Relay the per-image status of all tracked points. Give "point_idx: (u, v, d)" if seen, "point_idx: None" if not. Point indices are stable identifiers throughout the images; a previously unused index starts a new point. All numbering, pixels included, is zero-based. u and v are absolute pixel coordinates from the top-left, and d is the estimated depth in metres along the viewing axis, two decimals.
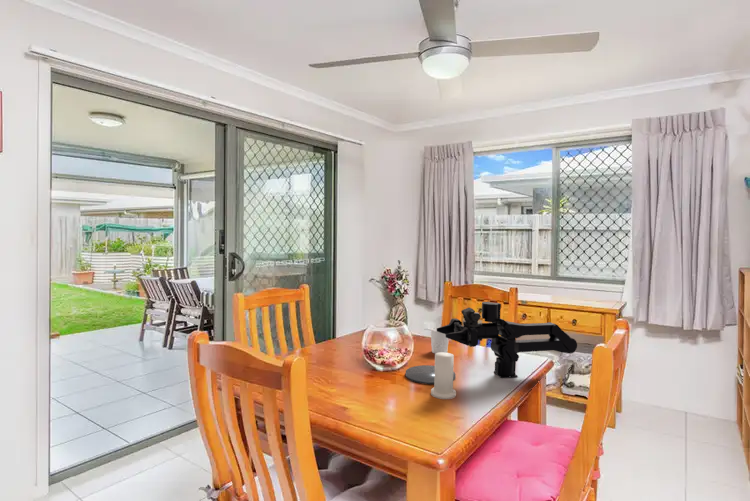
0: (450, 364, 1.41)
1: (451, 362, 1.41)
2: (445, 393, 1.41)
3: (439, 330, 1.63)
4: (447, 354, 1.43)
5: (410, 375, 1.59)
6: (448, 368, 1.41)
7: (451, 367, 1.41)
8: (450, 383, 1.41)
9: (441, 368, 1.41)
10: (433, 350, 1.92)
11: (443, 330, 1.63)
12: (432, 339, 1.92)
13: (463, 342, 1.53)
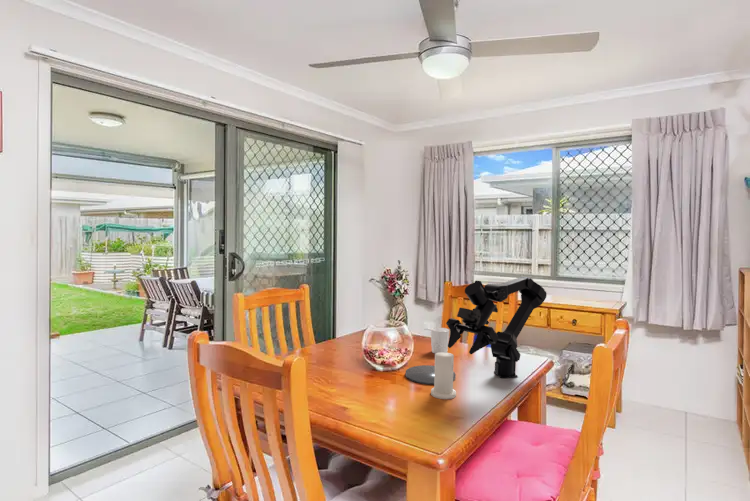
0: (450, 364, 1.41)
1: (451, 362, 1.41)
2: (445, 393, 1.41)
3: (450, 345, 1.52)
4: (447, 354, 1.43)
5: (410, 375, 1.59)
6: (448, 368, 1.41)
7: (451, 367, 1.41)
8: (450, 383, 1.41)
9: (441, 368, 1.41)
10: (433, 350, 1.92)
11: (453, 341, 1.52)
12: (432, 339, 1.92)
13: (485, 344, 1.46)
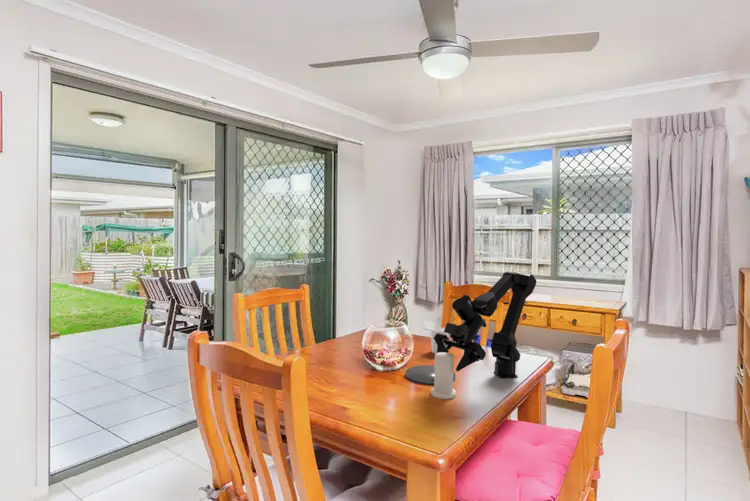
0: (450, 364, 1.41)
1: (451, 362, 1.41)
2: (445, 393, 1.41)
3: None
4: (447, 354, 1.43)
5: (410, 375, 1.59)
6: (448, 368, 1.41)
7: (451, 367, 1.41)
8: (450, 383, 1.41)
9: (441, 368, 1.41)
10: (433, 350, 1.92)
11: None
12: (432, 339, 1.92)
13: (473, 361, 1.42)
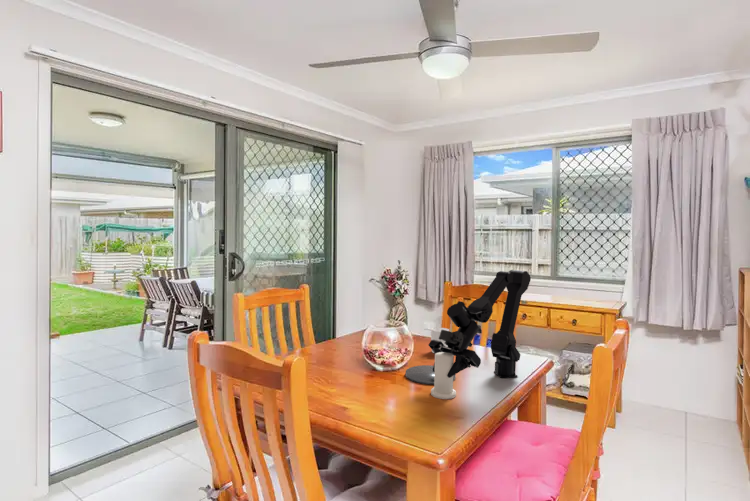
0: (450, 363, 1.41)
1: (451, 362, 1.41)
2: (445, 393, 1.41)
3: None
4: (447, 354, 1.43)
5: (410, 375, 1.59)
6: (448, 368, 1.41)
7: None
8: (450, 383, 1.41)
9: (441, 368, 1.41)
10: None
11: None
12: (432, 339, 1.92)
13: (464, 367, 1.42)
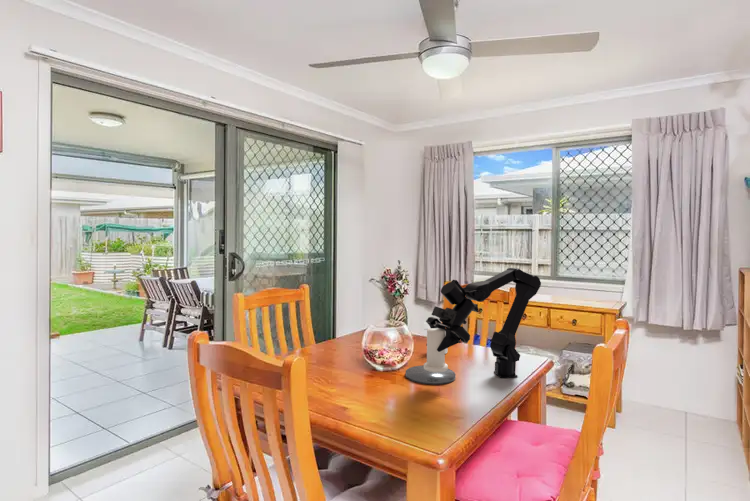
0: (440, 338, 1.47)
1: (441, 337, 1.47)
2: (435, 366, 1.47)
3: None
4: (439, 330, 1.49)
5: (410, 375, 1.59)
6: (438, 342, 1.47)
7: None
8: (440, 357, 1.47)
9: (431, 342, 1.47)
10: None
11: None
12: None
13: (455, 342, 1.47)
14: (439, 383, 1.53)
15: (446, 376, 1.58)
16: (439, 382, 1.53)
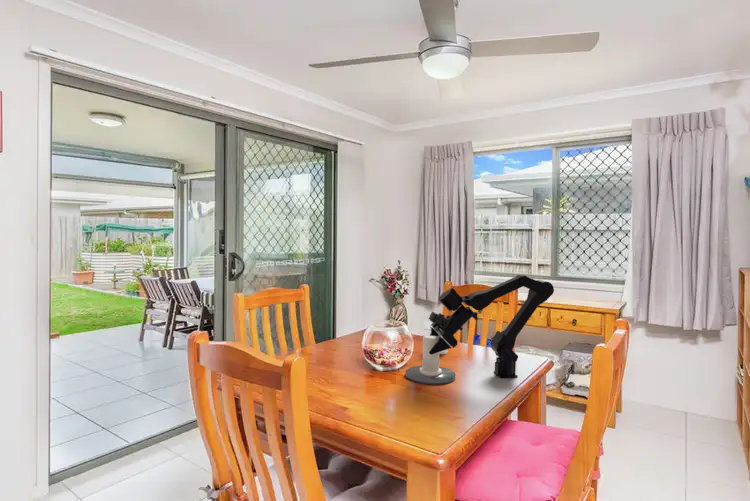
0: (431, 345, 1.58)
1: (433, 344, 1.58)
2: (427, 371, 1.59)
3: None
4: (434, 337, 1.61)
5: (410, 375, 1.59)
6: (430, 349, 1.58)
7: None
8: (432, 363, 1.59)
9: (424, 348, 1.60)
10: None
11: None
12: None
13: (446, 347, 1.55)
14: (439, 383, 1.53)
15: (446, 376, 1.58)
16: (439, 382, 1.53)
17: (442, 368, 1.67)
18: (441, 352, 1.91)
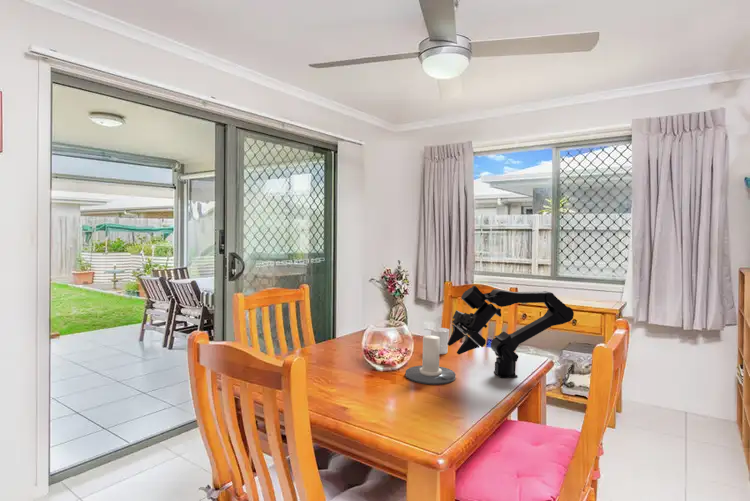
0: (431, 345, 1.58)
1: (433, 344, 1.58)
2: (427, 371, 1.59)
3: (450, 343, 1.66)
4: (434, 337, 1.61)
5: (410, 375, 1.59)
6: (430, 349, 1.58)
7: (433, 348, 1.58)
8: (432, 363, 1.59)
9: (424, 348, 1.60)
10: None
11: (453, 340, 1.66)
12: None
13: (474, 347, 1.56)
14: (439, 383, 1.53)
15: (446, 376, 1.58)
16: (439, 382, 1.53)
17: (442, 368, 1.67)
18: (441, 352, 1.91)
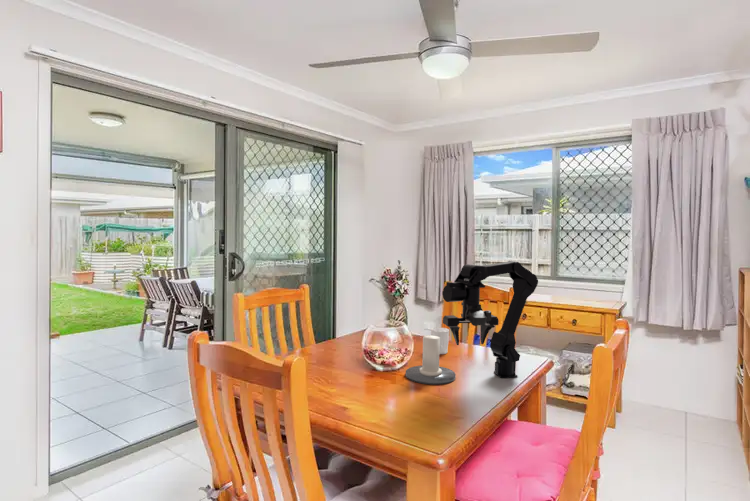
0: (431, 345, 1.58)
1: (433, 344, 1.58)
2: (427, 371, 1.59)
3: None
4: (434, 337, 1.61)
5: (410, 375, 1.59)
6: (430, 349, 1.58)
7: (433, 348, 1.58)
8: (432, 363, 1.59)
9: (424, 348, 1.60)
10: None
11: None
12: None
13: None
14: (439, 383, 1.53)
15: (446, 376, 1.58)
16: (439, 382, 1.53)
17: (442, 368, 1.67)
18: (441, 352, 1.91)
